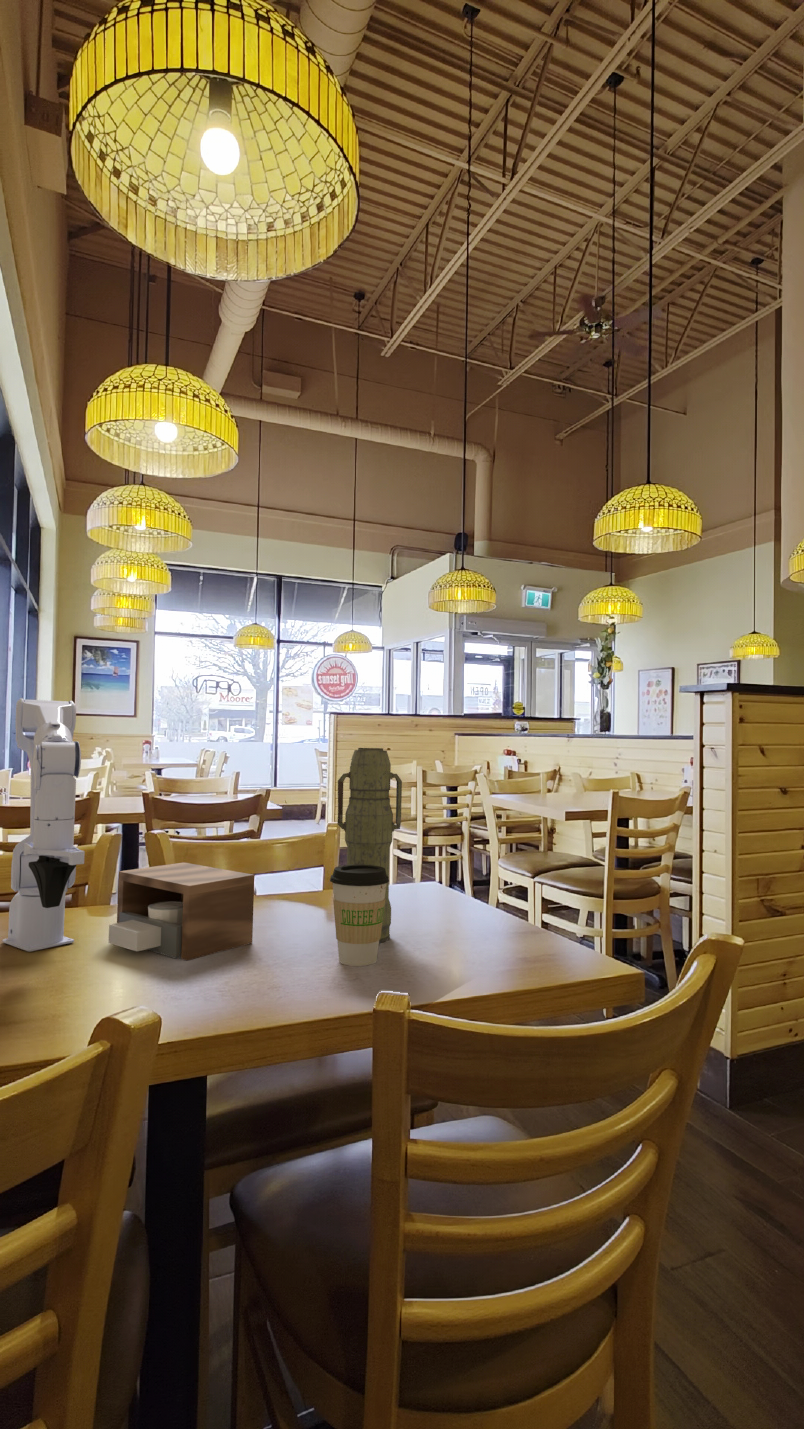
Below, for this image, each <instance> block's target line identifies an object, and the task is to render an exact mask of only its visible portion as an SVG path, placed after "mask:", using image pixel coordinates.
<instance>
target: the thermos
mask: <svg viewBox="0 0 804 1429" xmlns="http://www.w3.org/2000/svg"><path fill="white" fill-rule="evenodd" d="M350 760H351V762H350V766H349V771H348V772H346V773H343V774H342V775H341V776H340V777H339V779H338V780H337V824H336V825H338V827H339V828H341V830H343V831H344V842H345V844H346V846H347V849H346V865H374V866H380V867H383V868H385V870H386V874H387V876H388V877H389V878H388V879H389V880H390V855H391V854H390V853H391V852H390V847H391V845H392V842H393V832H395V830H400V829H401V824H402V798H403V797H402V794H403V793H402V791H403V789H402V788H403V781H402V780H401V777H400V776H399V775H398V773H393V772H391V768H392V767H391V761H390V756H389V754H388V751H387V750H384V748H382V747H379V748H378V747H357V749H355V750H354V751H353V754H352V756H351V758H350ZM346 778H348V779H349V788H348V790H350V792H349V797H348V804H347V807H346V811H345V816H343V815H344V814H343V813H344V782H345V780H346ZM393 779H395V781H396V787H395V788H396V790H395V791H396V792H395V794H396V795H395V796H396V797H395V798H396V799H395V801H396V803H395V822H394V814H393V810H392V809H393V808H392V806H391V798H390V790H391V780H393ZM343 817H345V819H344V820H345V821H344V820H343ZM343 821H344V822H343ZM389 887H390V881H389V882H388V883H387V884H386V891H385V898H386V899H385V907H384V914H383V922H382V929H381V937H380V940H379V944H381V943H385V942H387V941H389V940H390V938H391V935H390V933H391V932H390V931H391V930H390V929H391V928H390V927H391V924H392V904H391V902H390V898H389V892H390V888H389Z"/></svg>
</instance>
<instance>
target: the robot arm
mask: <svg viewBox="0 0 804 1429" xmlns="http://www.w3.org/2000/svg"><path fill="white" fill-rule="evenodd" d="M75 703H76V702H74V701H73V700H69V701H67V700H66V701H65V700H47V699H46V700H45V699H26V698H25V699H24V698H23V697H20V698H19V699H18V700H17V701H16V705H15V706H16V707H15V742H16V746H17V748H18V749H20V750H22V751H24V752H25V753H26V755H27V757H28V761H29V765H30V808H29V810H30V817H29V818H30V819H29V820H30V827H29V829H30V830H29V832H30V833H29V835H28V836H27V837H25V838H24V839H22V840H21V841H19V842H17V843H16V845H15V847H14V848H13V850H12V858H11V859H12V860H11V869H10V870H11V871H10V872H11V873H10V888H11V889H12V890H13V892H14V893H15V892H17V893H16V894H15V895H14V896H13V897H12V899H11V901H10V903H9V908H8V910H9V911H8V928H7V929H8V931H7V932H8V933H7V938H4V939H2V943H4V944H7V945H8V946H9V945H10V946H12V947H15V948H18V949H21V950H23V951H25V952H36V951H39V950H45V949H49V948H53V947H58V946H62V945H66V944H67V945H69V944H72V943H73V944H74V943H75V939H74V938H70V937H67V936H66V935H64V932H65V912H66V911H65V910H66V909H65V908H66V907H65V906H66V893H67V892H68V888H69V889H70V888H72V886H74V884H75V881H76V873H77V865H84V864H85V855H86V854H85V850H82V849H80V848H78V847H77V846H75V845H74V842H75V840H74V839H75V838H74V837H75V819H76V818H75V816H76V814H75V813H76V793H77V779H78V778H79V777H80V772H81V767H82V766H81V765H82V751H81V750H82V749H81V745H80V741H78V740H77V741H76V740H75V741H74V733H75V732H74V731H75V728H76V722H77V704H75ZM75 777H76V778H75Z"/></svg>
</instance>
